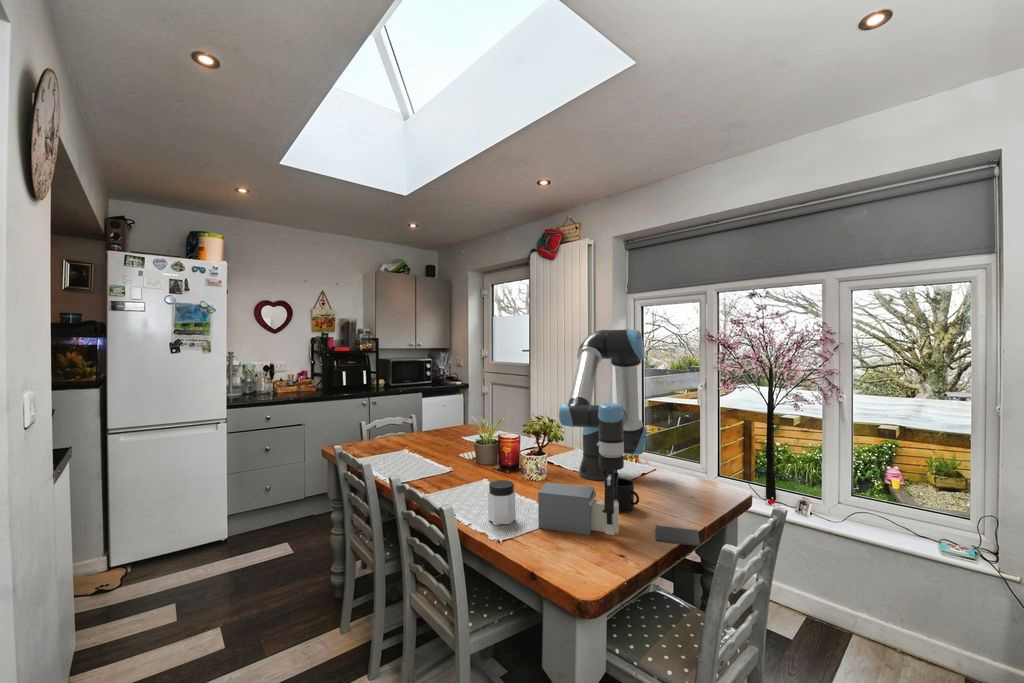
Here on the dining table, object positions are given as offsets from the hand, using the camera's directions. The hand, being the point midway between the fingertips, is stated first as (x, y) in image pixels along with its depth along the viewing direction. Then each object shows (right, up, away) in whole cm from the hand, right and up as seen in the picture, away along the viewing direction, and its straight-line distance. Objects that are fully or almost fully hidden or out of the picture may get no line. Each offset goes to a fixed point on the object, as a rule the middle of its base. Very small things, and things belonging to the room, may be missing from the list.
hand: (611, 526), depth 134 cm
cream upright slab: (-4, -1, +1) cm, 5 cm away
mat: (+19, -1, -4) cm, 19 cm away
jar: (-34, -2, +8) cm, 35 cm away
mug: (+8, -1, +17) cm, 19 cm away
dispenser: (-13, -1, +4) cm, 14 cm away
